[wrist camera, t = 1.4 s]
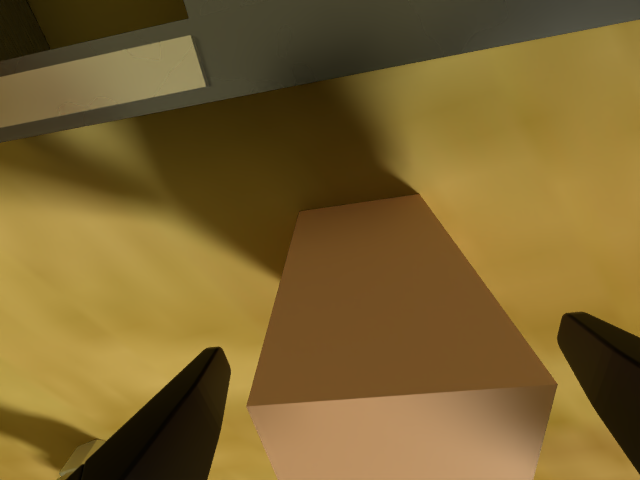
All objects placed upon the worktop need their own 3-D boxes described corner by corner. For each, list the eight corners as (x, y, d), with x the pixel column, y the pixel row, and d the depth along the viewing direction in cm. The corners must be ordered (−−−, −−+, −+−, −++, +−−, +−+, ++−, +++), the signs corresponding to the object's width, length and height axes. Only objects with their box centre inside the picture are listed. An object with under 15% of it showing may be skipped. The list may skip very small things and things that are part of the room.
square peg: (419, 193, 11) (557, 384, 4) (422, 292, 13) (519, 533, 6) (299, 211, 12) (245, 406, 5) (319, 303, 14) (302, 536, 7)
